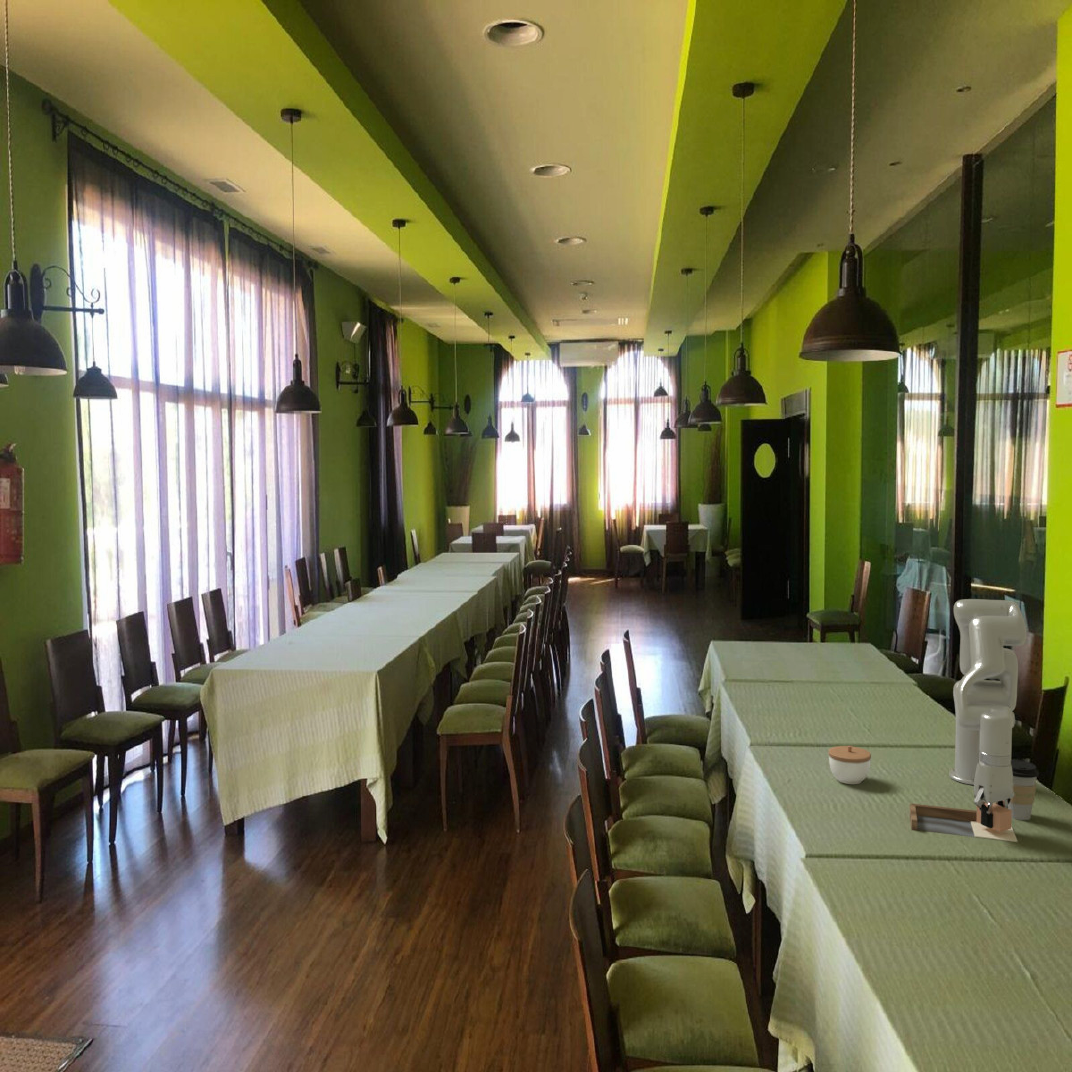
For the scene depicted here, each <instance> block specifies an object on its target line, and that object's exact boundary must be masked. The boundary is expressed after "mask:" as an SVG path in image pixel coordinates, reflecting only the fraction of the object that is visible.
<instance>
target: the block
mask: <svg viewBox="0 0 1072 1072" xmlns="http://www.w3.org/2000/svg"><path fill="white" fill-rule="evenodd" d="M985 805H986V806H987V807H988V804H987V803H985ZM976 811H977V820H976V822H978V823H980V824H981V811H980V810H979V807H978V806H977V805H976ZM991 813H992V814H993V828H992V829H994V830H997V831H999V832H1000V831H1004V830H1008V829H1011V826H1012V820H1013V818H1012V810H1010V809H1007V808H1005V807H1002V806H999V805H997V804H996V803H995V802H994V803H993V806H992V812H991Z"/></svg>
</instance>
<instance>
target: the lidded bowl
mask: <svg viewBox="0 0 1072 1072" xmlns="http://www.w3.org/2000/svg"><path fill="white" fill-rule="evenodd" d="M871 759H872V753H871V752H870V751H868V750H867V749H865V748H863V747H857V746H852V745H837V746H833V747H831V748H829V749H828V763H829V767H830V768H829V769H830V771H831V772H832V775H833V776H834V777H835V778H836V780H837V781H838V782H840V783H842V784H845V785H859V784H862V781H863V780H865V779H866V778H867V777H868V776H869V773H870V769H871Z"/></svg>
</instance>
